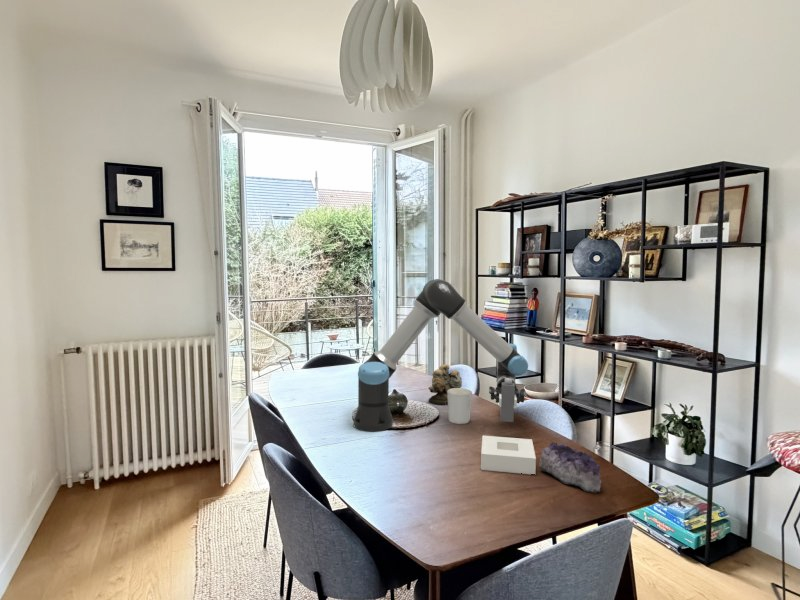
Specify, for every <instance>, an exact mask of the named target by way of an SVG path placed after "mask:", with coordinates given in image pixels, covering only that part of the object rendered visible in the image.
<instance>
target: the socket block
mask: <svg viewBox="0 0 800 600" xmlns="http://www.w3.org/2000/svg"><path fill="white" fill-rule="evenodd" d="M480 453H481V454H480V471H488V472H489V471H490V472H500V473H501V472H502V473H511V474H521V473H522V474H521V475H531V474H535V475H536V465H537V457H536V452H535V447H534V443H533V439H532V438H520V437H519V438H516V437H506V436H495V435H482V439H481V452H480Z"/></svg>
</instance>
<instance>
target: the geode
mask: <svg viewBox="0 0 800 600" xmlns="http://www.w3.org/2000/svg"><path fill="white" fill-rule="evenodd" d="M538 469H540V470H541V471H542V472H547V473H548V474H551V475H552V476H553V477H554V478H555V479H557V480H559V481H560V482H561V483H562V484H565V485H570V486H576V487H579V488H580V489H582V490H583V492H585V491H586V492H585V493H589V492H599V493H600V492H601V487H602V486H601V484H602V480H601V475H602V474H601V465H600V464H598V463H597V461H596V460H595V459H594V458H593V457H592V454H588V453H586V452H583V451H580V450H579V451H578V450H577V448H574V449H573V448H571V446H568V445H565V444H564V443H560V444H557V442H553V441H551V442H550V444H549V446H547V447H543V449H541V456H540V459H539V468H538Z"/></svg>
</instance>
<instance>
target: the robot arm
mask: <svg viewBox="0 0 800 600" xmlns="http://www.w3.org/2000/svg"><path fill="white" fill-rule="evenodd" d="M414 303H415V306H414V307H413V308H412V309H411V311H410V312H409V313H408V314H407V316H406V317H405V318H404V320H403V321H402V322H401V323H400V325H399V326H398V327H397V328H396V330H395V331H394V332H393V334H392V335H391V336H390V337H389V338H388V340H387V342H385V343H384V345H383V346H382V348H380V350H376V351H374V352H373V353H372V354H371V356H370V357H369V358H368V359H366V360H365V361H364V362H363V363H362V364H360V366H358V371H357V378H358V382H357V383H358V385H357V387H358V389H357V390H358V395H357V398H358V399H357V400H358V403H357V404H358V405H357V407H356V408H357V409H356V411H355V414H354V417H353V427H354V428H355V429H357V430H360V431H365V432H380V431H381V432H382V431H385V430H389V429H391V428H392V427H393V426H392V425H394V420H393V416H392V412H391V409H390V406H389V398H390V397H389V392H390V391H389V390H390V389H389V387H390V385H389V383H390V378H391V377H392V376H393V374H394V373H395V372H396V370H397V364H398V362H399V360H401V358H402V357H403V355H405V353H407V350H408V349H409V348H410V347H411V345H412V344H413V343H414V342H415V340H416V339H418V337H419V336H420V334H421V333H422V331H423V330H425V328H426V327H427V326H428V324H429V323H430V322H431V320H432V319H434V318H438V317H439V316H440V315H441V314H442V315H443V316H445V317H446V318H447V319H449V320H453V321H454V322H455V323H456V324H457V325H458V326H460V327H461V329H463V331H465V332H466V333H467V334H468V335H469V336H471V338H473V339H474V340H475V341H476V342H477V343H478V344H479V345H480V346H481V347H482V348H483V349H484V350H486V351H487V352H488V353H489V354H490V355H491V356H492V357H493V358H494V359H496V360H497V368H496V369H497V370H496V372H497V373H496V387H493V386H489V388H488V389H489V390H488V393H489V395H490V400H491V401H493V400H495V403H497V404H498V407H501V400H502V397H501V389H502V382H505V378H512V383H515V396H514V409H515V408H516V409H517V406H518V405H517V404H520V403H524V402H525V397H526V396H525V395H526V390H525V388H521V389H518V388H517V384H516V376H519V377H520V376H522V375H525V374H526V373H527V371H528V369H529V363H528V361H527V359H526V358H525V357H524V356H523V355H521V354H520V353H519V352H518V349H517V345H516V344H514V343H509V342H507V341H506V340H505V339H504V338H503V337H502V336H500V335H499V334H498V333H497V332H496V331H495V330H494V329H493V328H492V327H491V326H490V325H489V324H488V323H486V322H485V321H484V320H483V319H482V318H481V317H480V316H479V315H478V314H477V313H476V312H475V311H474V310H472V308H470V307H469V306H468V304H467V302H466V299H465V298H464V297H462V295H460V293H459V292H458V291H457V290H456V289H455V287H453V285H452V284H451V283H450V282H448V281H446V280H443V279H440V278H435V279H432V280H429V281H428V282H426V283H425V285H424V286H423V289H422V290H421V292H420V293H419V294H418V295H417V297H416V299H415V301H414Z"/></svg>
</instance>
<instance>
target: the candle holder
mask: <svg viewBox="0 0 800 600" xmlns="http://www.w3.org/2000/svg"><path fill="white" fill-rule="evenodd" d="M447 394H448V405H447V413H448V415H447V416H448V422H450V423H452V424H458V425H464V424H468V423H470V419H471V410H472V409H471V406H472V395H473V391H472V390H470V389H469V388H464V387H461V388H452V389H449V390H447Z"/></svg>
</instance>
